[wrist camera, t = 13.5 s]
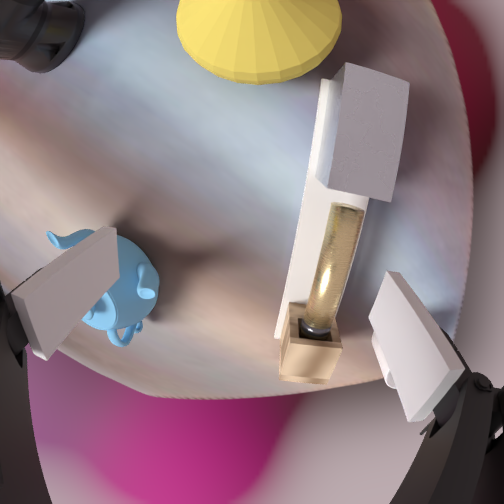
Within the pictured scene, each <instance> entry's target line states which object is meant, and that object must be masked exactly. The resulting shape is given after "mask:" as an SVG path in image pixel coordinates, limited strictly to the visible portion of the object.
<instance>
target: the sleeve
mask: <svg viewBox="0 0 504 504" xmlns="http://www.w3.org/2000/svg"><path fill="white" fill-rule="evenodd" d="M409 84H410V82H407V81H404V80H402V79H399V78H396V77H393V76H391V75H388V74H385V73H382V72H379V71H375V70H372V69H369V68H366V67H362V66H359V65H355V64H351V63H347V62H345V64H344V65H343V66H342V67H341V68H340V70H339V71H338V72H337V73H336V74H335V76H334V77H333V78H332V79H331V81H330V82H329V89H328V96H327V103H326V111H325V117H324V124H323V131H322V137H321V144H320V150H319V156H318V162H317V168H316V173H315V178H316V179H318V180H319V181H320V182H321V183H322V184H323V185H324V186H325V187H326V188H327V189H332V190H337V191H342V192H347V193H351V194H356V195H361V196H365V197H369V198H374V199H378V200H382V201H386V202H390V203H391V200H392V195H393V191H394V186H395V181H396V177H397V172H398V166H399V161H400V155H401V149H402V143H403V137H404V130H405V123H406V115H407V106H408V96H409Z"/></svg>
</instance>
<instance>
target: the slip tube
mask: <svg viewBox="0 0 504 504" xmlns="http://www.w3.org/2000/svg"><path fill="white" fill-rule="evenodd" d="M364 214H365V211H364V210H363V209H361V208H359V207H356V206H353V205H349V204H345V203H340V202H331V206H330V211H329V215H328V220H327V225H326V229H325V234H324V238H323V242H322V247H321V251H320V255H319V259H318V263H317V267H316V271H315V275H314V279H313V283H312V287H311V291H310V294H309V298H308V302H307V306H306V309H305V313H304V316H303V318H302V322H301V327H300V330H299V338H302V339H310V340H319V341H326V339H327V337H328V334H329V332H330V329H331V327H332V323H333V320H334V317H335V314H336V311H337V308H338V305H339V302H340V299H341V296H342V293H343V290H344V287H345V283H346V280H347V277H348V273H349V270H350V267H351V263H352V260H353V256H354V253H355V249H356V245H357V241H358V238H359V234H360V230H361V226H362V222H363V218H364Z"/></svg>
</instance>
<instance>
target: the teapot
mask: <svg viewBox="0 0 504 504" xmlns="http://www.w3.org/2000/svg"><path fill="white" fill-rule="evenodd" d="M94 232H96V231H93V230H90V229H84V230H79V231H77V232H75V233H73V234H71V235H69V236H66V237H59V236H57V235H55V234H53V233H52V232H50V231H47V232H46V234H47V237H48V239H49V240H50V242H51V243H52V244H53V245H54V246H55V247H57V248H59V249H68V248H70V247H72V246H75V245H76V244H77V243H79V242H80V241H82V240H83V239H85V238H86V237H88V236H89V235H91V234H93V233H94ZM117 249H118V263H119V274H120V278H119V279H118V280H117V281H116V282H115V283H114V284H113V285H112V286H111V287H110V288H109V289H108V290H107V292H106V293H105V294H104V295H103V296H102V297H101V298H100V299H99V300H98V301H97V302H96V304H95V305H94V306H93V307H92V308H91V309H90V310H89V311H88V312H87V314H86V315H85V316H84V317H83V318H82V320H83V321H84V322H85V323H87V324H88V325H90V326H91V327H93V328H96V329H100V330H107V334H108V337H109V339H110V341H111V342H112V343H113V344H114V345H116V346H119V347H124V346H127V345H128V344H129V343H130V341H131V339H132V337H133V334H134V333H139V332H141V330H142V328H143V324H142V319H144V318H145V317H146V316H147V315H148V314H149V313H150V312H151V311H152V309H153V308H154V306H155V304H156V302H157V298H158V286H159V275H158V273H157V271H156V269H155V268H154V267H153V266H152V264H151V262H150V260H149V259H148V257H147V256H146V255H145V253H144V252H143V251H142V250H141V249H140V248H139V247H138V246H137V245H136V244H134V243H133V242H132V241H130V240H128V239H126V238H124V237H122V236H119V235H117ZM122 328H126V330H125V333H124V335H123V337H122V339H121V340H120V338H119V336H118V334H117V329H122Z"/></svg>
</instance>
